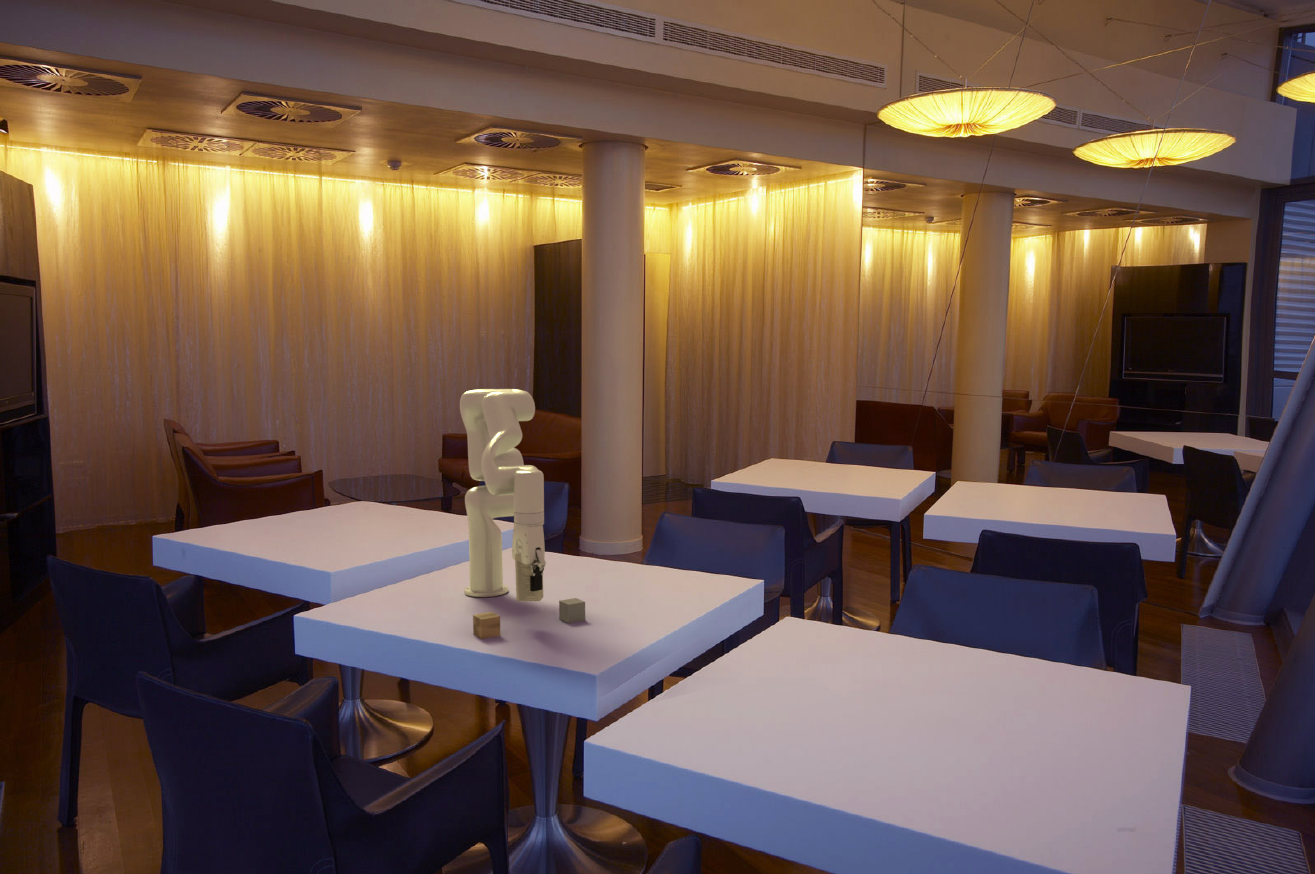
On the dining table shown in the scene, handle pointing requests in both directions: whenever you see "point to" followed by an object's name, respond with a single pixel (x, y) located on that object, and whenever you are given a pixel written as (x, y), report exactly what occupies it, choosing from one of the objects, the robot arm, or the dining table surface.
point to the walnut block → (486, 625)
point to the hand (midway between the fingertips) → (529, 586)
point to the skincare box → (525, 582)
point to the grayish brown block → (572, 610)
